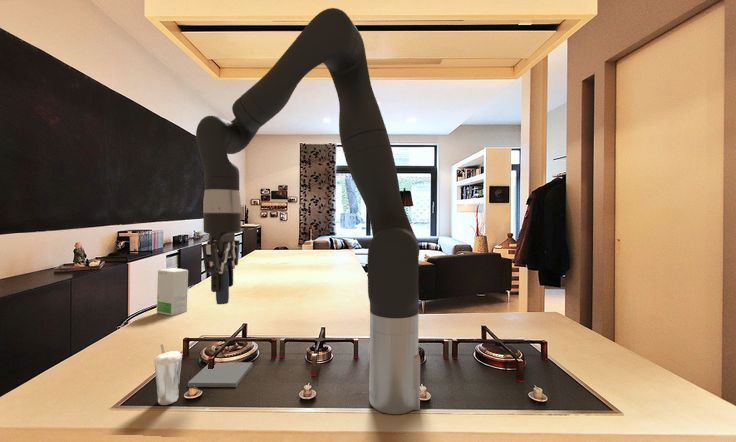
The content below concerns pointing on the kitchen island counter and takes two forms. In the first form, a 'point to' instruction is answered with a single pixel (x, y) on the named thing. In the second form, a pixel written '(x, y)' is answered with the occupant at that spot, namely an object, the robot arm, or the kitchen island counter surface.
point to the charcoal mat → (221, 375)
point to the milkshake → (168, 376)
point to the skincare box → (172, 291)
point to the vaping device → (224, 287)
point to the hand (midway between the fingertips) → (222, 288)
